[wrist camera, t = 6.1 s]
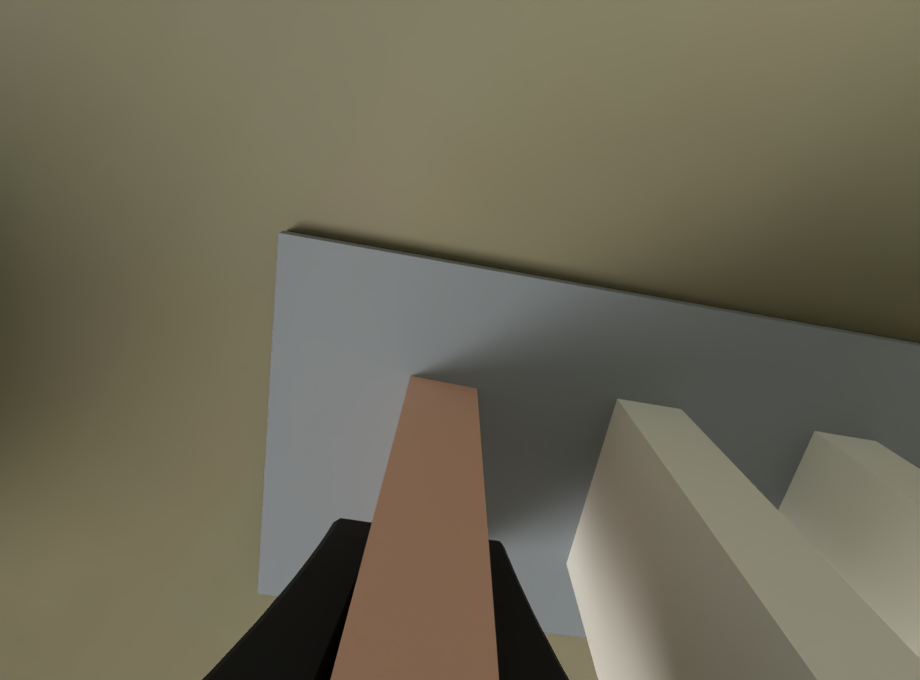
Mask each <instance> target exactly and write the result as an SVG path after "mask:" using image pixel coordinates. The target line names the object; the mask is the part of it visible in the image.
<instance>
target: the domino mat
mask: <svg viewBox="0 0 920 680" xmlns="http://www.w3.org/2000/svg"><path fill="white" fill-rule="evenodd" d="M410 376H414V377H420V378H425V379H430V380H435V381H440V382H446V383H451V384H456V385H461V386H467V387H472V388H477V395H478V408H479V421H480V434H481V447H482V461H483V474H484V487H485V500H486V513H487V527H488V539H489V540H496V541H500V542H501V543H502V544H503V546H504V547H505V550H506V552H507V555H508V557H509V559H510V562H511V564H512V567H513V569H514V571H515V573H516V576H517V578H518V580H519V582H520V585H521V587H522V589H523V591H524V593H525V595H526V598H527V600H528V602H529V604H530V606H531V608H532V610H533V612H534V614H535V616H536V618H537V620H538V622H539V624H540V626H541V628H542V630H543V632H545V633H552V634H559V635H567V636H574V637H581V638H587V637H586V633H585V630H584V626H583V622H582V619H581V615H580V611H579V608H578V604H577V601H576V597H575V593H574V590H573V586H572V582H571V579H570V575H569V572H568V568H567V564H566V563H567V560H568V557H569V554H570V550H571V547H572V544H573V541H574V537H575V534H576V531H577V528H578V524H579V521H580V518H581V515H582V511H583V508H584V505H585V502H586V498H587V495H588V492H589V489H590V485H591V482H592V479H593V476H594V472H595V469H596V466H597V462H598V459H599V456H600V453H601V449H602V446H603V443H604V440H605V436H606V433H607V430H608V427H609V423H610V420H611V417H612V414H613V410H614V407H615V404H616V401H617V399H623V400H629V401H635V402H641V403H647V404H653V405H659V406H666V407H672V408H678V409H682V410H683V411H684V412H685V413H686V414H687V416H688V417H689V418H690V419H691V420H692V421H693V422H694V423H695V424H696V425H697V426H698V427H699V428H700V429H701V430H702V431H703V432H704V433H705V434H706V435H707V436H708V438H709V439H710V440H711V441H712V442H713V443H714V444H715V445H716V446H717V447H718V448H719V449H720V450H721V451H722V452H723V453H724V454H725V455H726V456H727V457H728V458H729V459H730V461H731V462H732V463H733V464H734V465H735V466H736V467H737V468H738V469H739V470H740V471H741V472H742V473H743V474H744V475H745V476H746V477H747V478H748V479H749V480H750V481H751V483H752V484H753V485H754V486H755V487H756V488H757V489H758V490H759V491H760V492H761V493H762V494H763V495H764V496H765V497H766V498H767V499H768V500H769V501H770V502H771V503H772V504H773V506H774V507H775V508H776V509H777V510H779V507H780V505H781V503H782V501H783V499H784V497H785V494H786V492H787V490H788V488H789V486H790V483H791V481H792V479H793V477H794V475H795V473H796V470H797V468H798V466H799V464H800V462H801V459H802V457H803V455H804V453H805V451H806V449H807V446H808V444H809V442H810V440H811V438H812V436H813V433H814V431H818V432H824V433H830V434H836V435H842V436H848V437H854V438H860V439H867V440H873V441H877V442H878V443H880V444H881V445H883V446H884V447H886V448H888V449H889V450H891V451H892V452H894V453H896V454H897V455H899V456H900V457H902V458H903V459H905V460H907V461H908V462H910V463H911V464H913V465H914V466H916V467H918V468H919V469H920V343H915V342H910V341H904V340H899V339H893V338H887V337H882V336H876V335H870V334H865V333H859V332H853V331H848V330H842V329H836V328H831V327H825V326H819V325H814V324H808V323H803V322H797V321H791V320H786V319H780V318H774V317H769V316H763V315H757V314H752V313H746V312H740V311H735V310H729V309H724V308H718V307H712V306H707V305H701V304H695V303H690V302H684V301H678V300H673V299H667V298H661V297H656V296H650V295H644V294H639V293H633V292H628V291H622V290H616V289H611V288H605V287H599V286H594V285H588V284H582V283H577V282H571V281H565V280H560V279H554V278H548V277H543V276H537V275H532V274H526V273H520V272H515V271H509V270H503V269H498V268H492V267H486V266H481V265H475V264H469V263H464V262H458V261H452V260H447V259H441V258H436V257H430V256H424V255H419V254H413V253H407V252H402V251H396V250H390V249H385V248H379V247H373V246H368V245H362V244H356V243H351V242H345V241H340V240H334V239H328V238H323V237H317V236H311V235H306V234H300V233H294V232H289V231H282V232H279V233H278V248H277V265H276V282H275V300H274V317H273V334H272V352H271V369H270V386H269V403H268V421H267V438H266V455H265V473H264V490H263V507H262V524H261V542H260V559H259V576H258V594H264V595H271V596H279V595H280V593H281V592H282V591H283V590H284V589H285V588H286V586H287V585H288V584H289V583H290V582H291V580H292V579H293V578H294V577H295V575H296V574H297V573H298V572H299V570H300V569H301V568H302V566H303V565H304V564H305V562H306V561H307V560H308V559H309V557H310V556H311V555H312V553H313V552H314V550H315V549H316V548H317V546H318V545H319V544H320V542H321V541H322V539H323V538H324V536H325V535H326V533H327V532H328V530H329V528H330V527H331V525H332V524H333V522H335V521H336V520H338V519H340V518H344V519H351V520H358V521H365V522H372V520H373V516H374V513H375V509H376V505H377V501H378V497H379V494H380V490H381V486H382V482H383V478H384V475H385V471H386V467H387V463H388V460H389V456H390V452H391V448H392V444H393V441H394V437H395V433H396V429H397V425H398V422H399V418H400V414H401V410H402V406H403V403H404V399H405V395H406V391H407V388H408V384H409V380H410Z"/></svg>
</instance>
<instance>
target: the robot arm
mask: <svg viewBox="0 0 920 680" xmlns="http://www.w3.org/2000/svg"><path fill="white" fill-rule="evenodd" d="M371 524H372V522H365V521H358V520H351V519H344V518H340V519H338V520H336V521H335V522H333V524H332V525H331V527H330V528H329V530H328V532H327V533H326V535H325V536H324V538H323V539H322V541H321V542H320V544H319V545H318V546H317V548H316V549H315V550H314V552H313V553H312V555H311V556H310V557H309V559H308V560H307V561H306V562H305V564H304V565H303V566H302V568H301V569H300V570H299V572H298V573H297V574H296V575H295V577H294V578H293V579H292V580H291V582H290V583H289V584H288V585H287V586H286V588H285V589H284V590H283V591H282V592H281V593H280V595H279V596H278V597H277V598H276V599H275V601H274V602H273V603H272V604H271V605H270V607H269V608H268V609H267V610H266V611H265V613H264V614H263V615H262V616H261V617H260V618H259V619H258V621H257V622H256V623H255V624H254V625H253V626H252V627H251V628H250V629H249V630H248V632H247V633H246V634H245V635H244V636H243V637H242V638H241V639H240V640H239V641H238V642H237V643H236V644H235V646H234V647H233V648H232V649H231V650H230V651H229V652H228V653H227V654H226V655H225V656H224V657H223V658H222V660H221V661H220V662H219V663H218V664H217V665H216V666H215V667H214V668H213V669H212V670H211V671H210V672H209V673H208V674H207V675H206V676H205V677H204V678H203V679H202V680H330V679H331V676H332V672H333V668H334V664H335V660H336V657H337V653H338V649H339V645H340V641H341V638H342V634H343V630H344V626H345V622H346V619H347V615H348V611H349V607H350V604H351V600H352V596H353V592H354V588H355V585H356V581H357V577H358V573H359V569H360V566H361V562H362V558H363V554H364V550H365V547H366V543H367V539H368V535H369V532H370V528H371ZM488 540H489V539H488ZM489 553H490V566H491V579H492V593H493V606H494V619H495V632H496V645H497V659H498V672H499V680H569V679H568V677H567V675H566V674H565V672H564V670H563V668H562V666H561V664H560V663H559V661H558V659H557V657H556V655H555V653H554V651H553V649H552V647H551V645H550V644H549V642H548V640H547V638H546V636H545V634H544V632H543V630H542V628H541V626H540V624H539V622H538V620H537V618H536V616H535V614H534V612H533V610H532V608H531V606H530V604H529V602H528V600H527V598H526V595H525V593H524V591H523V589H522V587H521V585H520V582H519V580H518V578H517V576H516V573H515V571H514V569H513V567H512V564H511V562H510V559H509V557H508V555H507V552H506V550H505V547H504V546H503V544H502V543H501V542H500V541H496V540H489Z"/></svg>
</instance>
